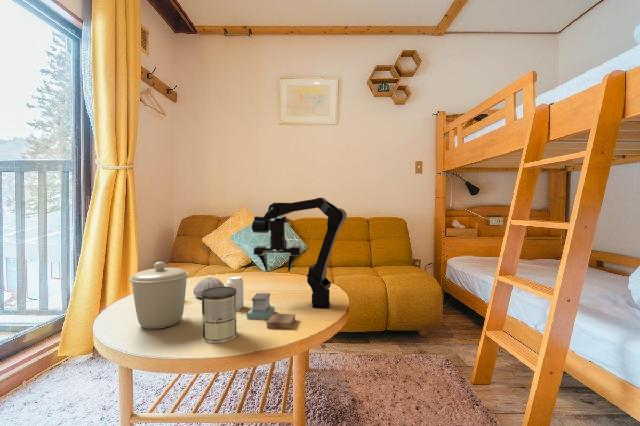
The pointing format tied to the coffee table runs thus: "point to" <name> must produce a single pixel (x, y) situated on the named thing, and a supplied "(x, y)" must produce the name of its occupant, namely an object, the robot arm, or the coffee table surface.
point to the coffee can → (219, 314)
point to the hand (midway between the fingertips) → (278, 271)
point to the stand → (261, 314)
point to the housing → (261, 303)
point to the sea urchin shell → (206, 285)
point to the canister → (159, 295)
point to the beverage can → (237, 289)
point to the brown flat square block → (281, 321)
